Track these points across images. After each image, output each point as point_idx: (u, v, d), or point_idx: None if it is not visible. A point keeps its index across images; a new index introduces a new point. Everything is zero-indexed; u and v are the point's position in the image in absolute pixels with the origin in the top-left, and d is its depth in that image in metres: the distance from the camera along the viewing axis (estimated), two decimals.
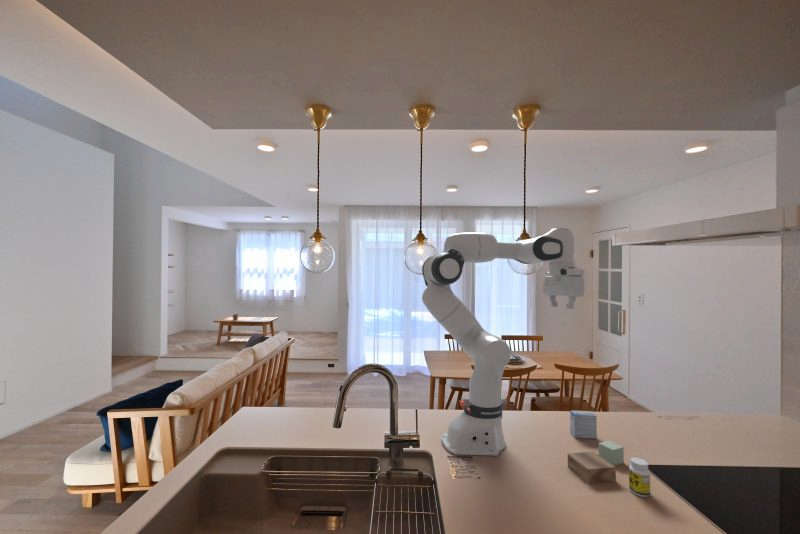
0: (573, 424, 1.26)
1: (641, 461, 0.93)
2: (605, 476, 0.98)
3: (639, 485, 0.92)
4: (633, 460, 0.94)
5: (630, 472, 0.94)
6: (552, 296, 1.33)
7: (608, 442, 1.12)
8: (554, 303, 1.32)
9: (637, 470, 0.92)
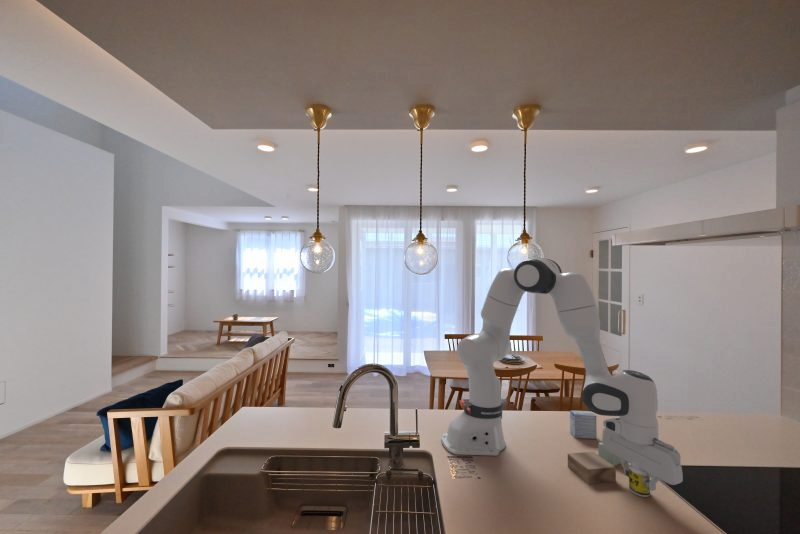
0: (573, 424, 1.26)
1: None
2: (605, 476, 0.98)
3: (639, 485, 0.92)
4: None
5: (630, 472, 0.94)
6: None
7: None
8: None
9: (637, 470, 0.92)
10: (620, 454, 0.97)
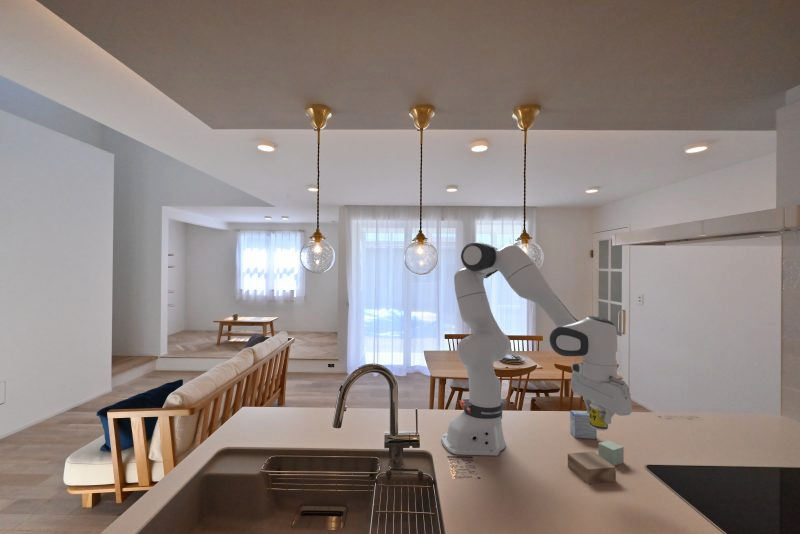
0: (573, 424, 1.26)
1: None
2: (605, 476, 0.98)
3: (596, 420, 0.99)
4: None
5: (590, 408, 1.02)
6: None
7: (608, 442, 1.12)
8: None
9: (595, 406, 1.00)
10: (583, 393, 1.05)
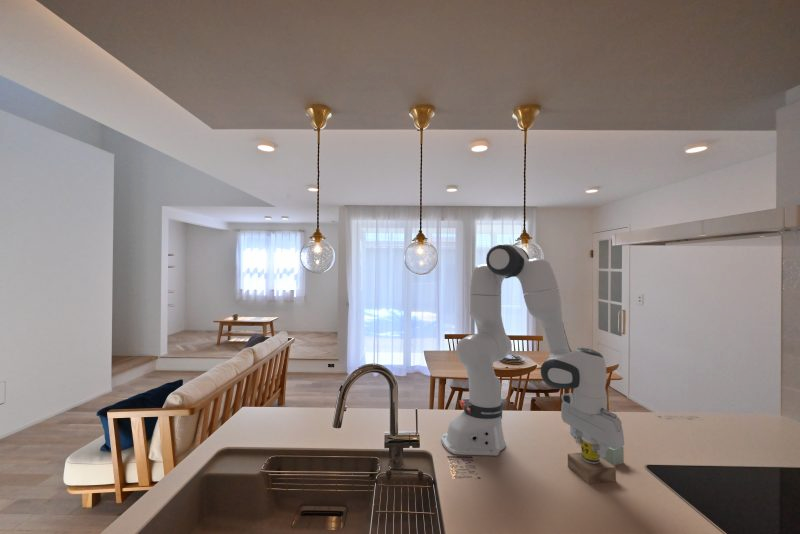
0: None
1: None
2: (605, 476, 0.98)
3: (588, 453, 1.01)
4: None
5: (582, 441, 1.03)
6: None
7: None
8: None
9: (587, 440, 1.01)
10: (575, 424, 1.06)
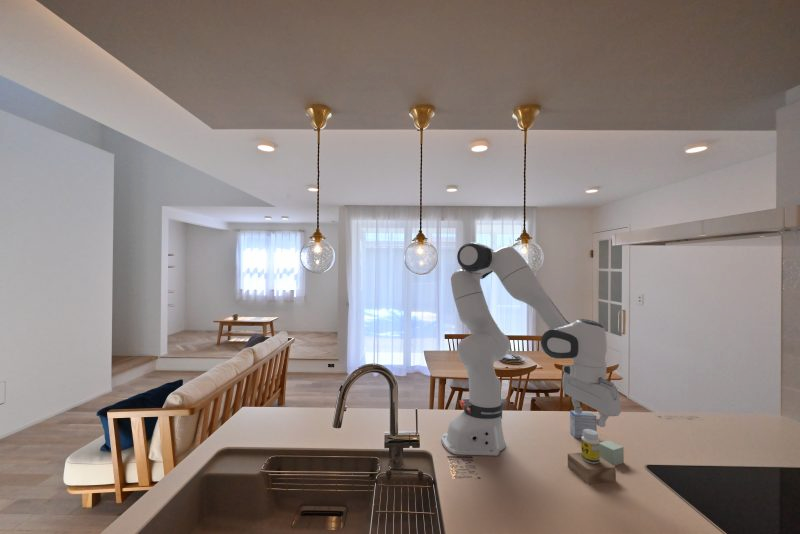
0: (573, 424, 1.26)
1: (591, 432, 1.02)
2: (605, 476, 0.98)
3: (588, 453, 1.01)
4: (585, 431, 1.03)
5: (582, 441, 1.03)
6: None
7: (608, 442, 1.12)
8: None
9: (587, 440, 1.01)
10: (574, 395, 1.07)
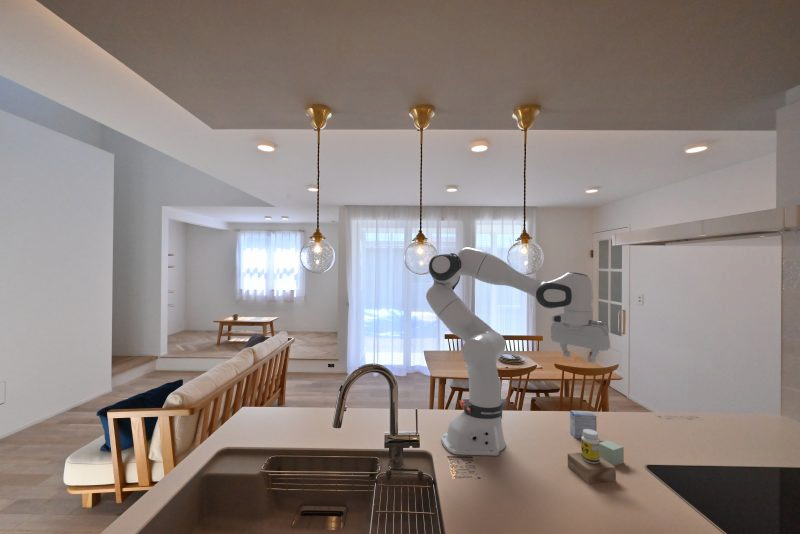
0: (573, 424, 1.26)
1: (591, 432, 1.02)
2: (605, 476, 0.98)
3: (588, 453, 1.01)
4: (585, 431, 1.03)
5: (582, 441, 1.03)
6: None
7: (608, 442, 1.12)
8: None
9: (587, 440, 1.01)
10: (564, 340, 1.20)
